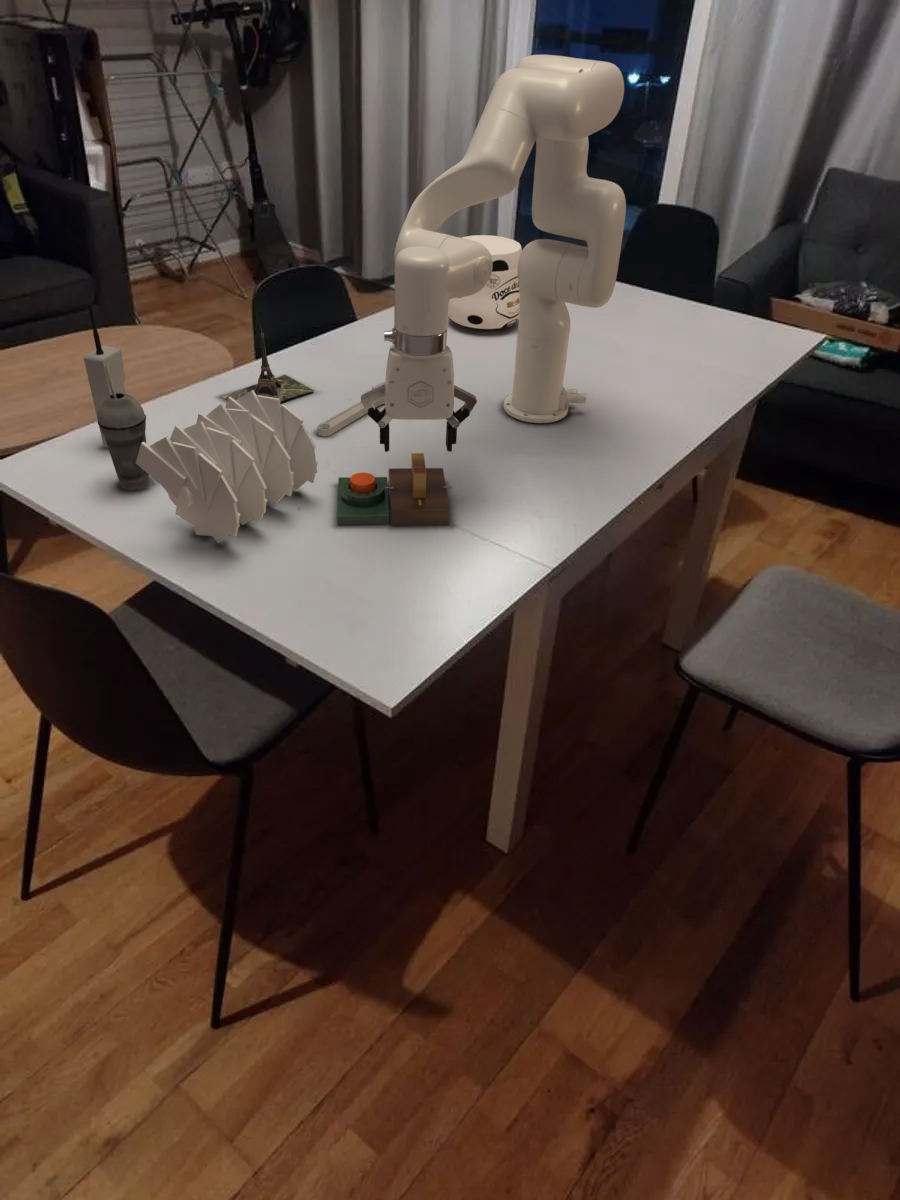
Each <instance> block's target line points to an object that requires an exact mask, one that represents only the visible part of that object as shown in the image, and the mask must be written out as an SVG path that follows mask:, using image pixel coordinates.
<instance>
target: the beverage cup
mask: <svg viewBox="0 0 900 1200" xmlns="http://www.w3.org/2000/svg"><path fill="white" fill-rule="evenodd" d="M104 368H105V371H106V375H107V378H108V382H109V385H110V389H111V392H112V394H111V395H109V396H107V397H106V398H105V399H104V400H103V401H102V402H101V404H100V406H99V409H98V420H97V425H98V427H99V426H100V428H99V430H100V429H101V431H102V433H103V435H104V437H105V440H106V443H107V446H108V448H107V449H108V452H109V455H110V458H111V461H112V465H113V467H114V470H115V473H116V476H117V480H118V481H119V484H120V487H121V488H122V489H123V490H124V491H128V492H135V491H140V490H143V489H146V488H147V487H149V485H150V475H149V474H148V473H147V472H146V471H144V470H143V469H142V468H141V467H140V466H138V465H137V464H136V460H137V457H138V453H139V449H140V446H141V443H142V442H145V443H146V444H147V436H146V431H147V430H146V429H147V415H146V414H145V410H144V409H143V407H142V405H141V404H140V402H139V401H138V400H137V399H136V398H134V396H131V395H130V394H127V393H126V394H124V393H115V390H114V386H113V383H112V379H111V376H110V373H109V369H108V366H107V365H106V366H104Z"/></svg>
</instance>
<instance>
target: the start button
mask: <svg viewBox="0 0 900 1200" xmlns="http://www.w3.org/2000/svg"><path fill="white" fill-rule="evenodd" d="M349 477H350V489H351V491H352V492H355V493H358V494H366V493H370V492H373V491H374V490H375V488H376V484H375V477H376V476H375V475H373V474H372V473H369V472H356V473H354V474H352V475H350V476H349Z"/></svg>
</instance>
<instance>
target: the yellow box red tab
mask: <svg viewBox="0 0 900 1200" xmlns="http://www.w3.org/2000/svg"><path fill="white" fill-rule="evenodd" d="M410 468H411V483H412V493H413V498H426V468H427V467H426V460H425V454H424V452H411V453H410Z"/></svg>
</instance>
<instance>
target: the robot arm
mask: <svg viewBox="0 0 900 1200" xmlns="http://www.w3.org/2000/svg"><path fill="white" fill-rule="evenodd" d="M624 96H625V81H624V76H623V74H622V71H621V70H620V68H619V67H618V66H617V65H616V64H614V63H612V62H609V61H603V60H595V59H587V58H586V59H585V58H576V57H571V56H564V55H555V54H531V55H527V56H524V57H522V58H521V59H520V60H519V61H518V62H517V63H516V66H515V67H514V68H510V69H508V70H506V71H504V72H503V73H502V74H501V75H500V76H499V77H498V78H497V80H496V81H495V83H494V86H493V88H492V90H491V92H490V95H489V97H488V100H487V102H486V103H485V107H484V109H483V111H482V113H481V116H480V118H479V121H478V123H477V126H476V128H475V130H474V132H473V135H472V137H471V140H470V142H469V144H468V146H467V149H466V151H465V153H464V156H463V157H462V159H461V160H460V161H459V162H457V163H456V164H454V165H453V166H451V167H450V168H448V169H447V170H446V171H444V172H443V173H442V174H440V175H438V176H437V177H436V178H435V179H434V180H433V181H432V182H431V183H430V184H428V185H427V186H426V187H424V188H423V190H422V191H421V192H420V193H419V194H418V195H417V196H416V198H415V199H414V201H413V203H412V204H411V206H410V208H409V210H408V212H407V215H406V218H405V219H404V222H403V224H402V226H401V229H400V231H399V234H398V237H397V240H396V244H395V247H394V253H393V263H394V303H393V304H394V305H393V307H394V310H393V313H394V316H393V320H394V321H393V323H394V324H393V328H391V330H389V331H387V330H386V331H383V340H384V342H389V343H391V346H390V347H389V352H388V355H387V360H386V368H385V369H386V370H385V378H384V379H385V381H384V382H385V384H384V385H382V386H380V387H377V388H375V389H373V390H372V389H371V390H369V391H367V392H365V393H363V394H362V395H361V396H360V401H361V403H362V404H363V406H364V408H365V410H366V411H367V413H366V414H367V416H368V417H369V418H370V419H372V420H373V421H374V423H375V424H377V426H378V427H379V445H383V447H384V452H385V453H388V452H390V422H391V421H392V420H393V419H394V420H407V421H408V420H411V421H412V420H414V421H415V420H417V421H418V420H419V421H422V420H423V421H427V420H428V421H429V420H430V421H432V420H433V421H435V420H436V421H437V420H446V426H445V427H446V428H445V445H446V446H445V447H446V451H447V452H448V453H451V452H453V445H457V439H458V437H457V435H458V428H459V427H460V425H461V423H463V422H464V421H465V420H466V419H467V418H468V417H470V415H471V412H472V411H473V409H474V408H475V406H476V405H477V403H478V398H477V396H476V395H475V394H473V393H471V392H469V391H467V390H466V389H463V388H462V387H459V386H457V385H455V370H454V369H455V368H454V358H453V353H452V350H451V348H450V346H448V343H447V342H448V322H449V321H448V319H449V315H448V302H449V300H450V299H453V298H460V297H466V296H470V295H473V294H475V293H477V292H479V291H480V290H481V289H482V288H483V287H484V286H485V285H486V284H487V282H488V281H489V279H490V276H491V273H492V267H493V262H492V257H491V254H490V252H489V251H488V249H487V248H486V247H485V246H484V245H482V244H480V243H479V242H476V241H473V240H469V239H464V238H462V237H459V236H454V235H451V234H446V233H442V232H438V230H439V228H440V227H441V226H442V224H443V223H444V222H445V221H446V220H447V219H449V218H450V217H451V216H453V215H454V214H457V212H459V211H462V210H465V209H466V208H469V207H473V206H476V205H479V204H482V203H487V202H489V201H493V200H495V199H499V198H502V197H504V196H507V195H508V194H511V193H512V192H513V191H514V190H515V189H516V187H517V185H518V184H519V180H520V178H521V176H522V174H523V171H524V167H525V166H526V164H527V162H528V159H529V158H530V157H529V156H530V154H531V152H532V150H533V147H534V145H535V161H534V162H535V163H534V173H533V186H532V199H531V218H532V223H533V225H534V226H535V227H536V228H537V229H538V230H539V231H542V232H546V233H548V234H553V235H557V236H561V237H567V238H570V239H571V238H572V239H575V240H581V241H584V242H585V243H586V244H587V246H583V245H578V244H575V243H571V242H566V241H561V240H556V239H550V238H549V239H548V238H539V239H534V240H532V241H530V242H529V243H527V244H525V246H524V247H523V248H522V252H521V254H520V257H519V261H518V282H519V293H520V311H519V318H518V327H517V336H516V337H517V338H516V349H515V350H516V351H515V360H514V370H513V382H512V393H511V394H509V395H507V396H506V397H505V398H504V400H503V406H502V407H503V410H504V411H505V413H506V414H507V415H508V416H510V417H511V418H513V419H516V420H517V421H522V422H526V423H532V424H548V423H554V422H557V421H560V420H563V419H564V418H565V417H566V416H567V415H568V412H569V406H570V404H579V405H581V404H583V405H584V404H586V403H587V394H586V392H585V393H578V389H566V388H565V387H564V382H565V381H564V380H565V374H566V373H565V372H566V364H567V358H568V350H569V349H568V348H569V339H570V333H571V318H570V313H569V309H568V307H567V305H566V304H567V303H568V304H573V305H577V306H581V307H586V308H591V309H592V308H593V309H597V308H601V307H603V306H605V305H606V304H608V302H609V301H610V299H611V297H612V295H613V293H614V290H615V286H616V281H617V276H618V272H619V265H620V257H621V250H622V243H623V237H624V229H625V222H626V214H627V200H626V196H625V193H624V190H623V188H622V187H621V186H620V185H619V184H617V183H615V182H613V181H611V180H610V181H609V180H606V179H600V178H594V177H590V176H588V171H587V167H588V166H587V165H588V157H589V155H588V154H589V148H590V147H589V146H590V143H589V136H590V135H591V136H592V135H593V134H595V133H597V132H599V131H601V130H603V129H604V128H606V127H608V125H610V124H611V123H612V122H613V121H614V119H615V118H616V117H617V116H618V113H619V112H620V110H621V107H622V104H623V101H624ZM384 396H385V403H384V408H383V409H382V410H381V411H380V410H379V409H378V407H375V406H374V405H373V403H372V402H373V401H375V400H377V399H380V398H382V397H384ZM455 398H456V399H458V400H460V401H462V402H464V403H463V405H462V406H461V407H459V409H457V411H455V410H454V407H455Z"/></svg>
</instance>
